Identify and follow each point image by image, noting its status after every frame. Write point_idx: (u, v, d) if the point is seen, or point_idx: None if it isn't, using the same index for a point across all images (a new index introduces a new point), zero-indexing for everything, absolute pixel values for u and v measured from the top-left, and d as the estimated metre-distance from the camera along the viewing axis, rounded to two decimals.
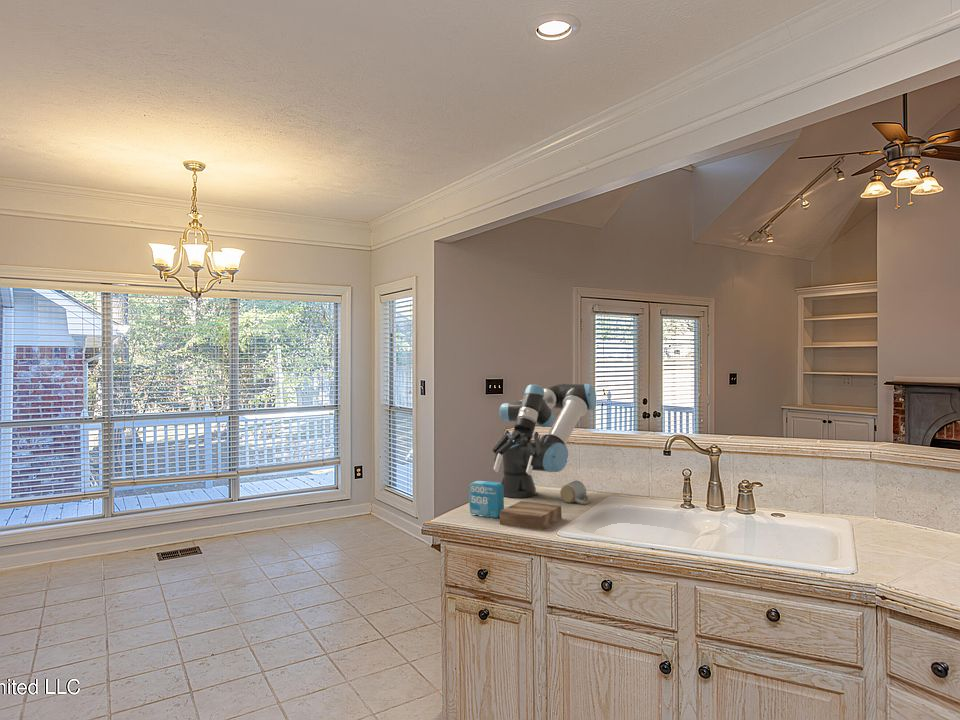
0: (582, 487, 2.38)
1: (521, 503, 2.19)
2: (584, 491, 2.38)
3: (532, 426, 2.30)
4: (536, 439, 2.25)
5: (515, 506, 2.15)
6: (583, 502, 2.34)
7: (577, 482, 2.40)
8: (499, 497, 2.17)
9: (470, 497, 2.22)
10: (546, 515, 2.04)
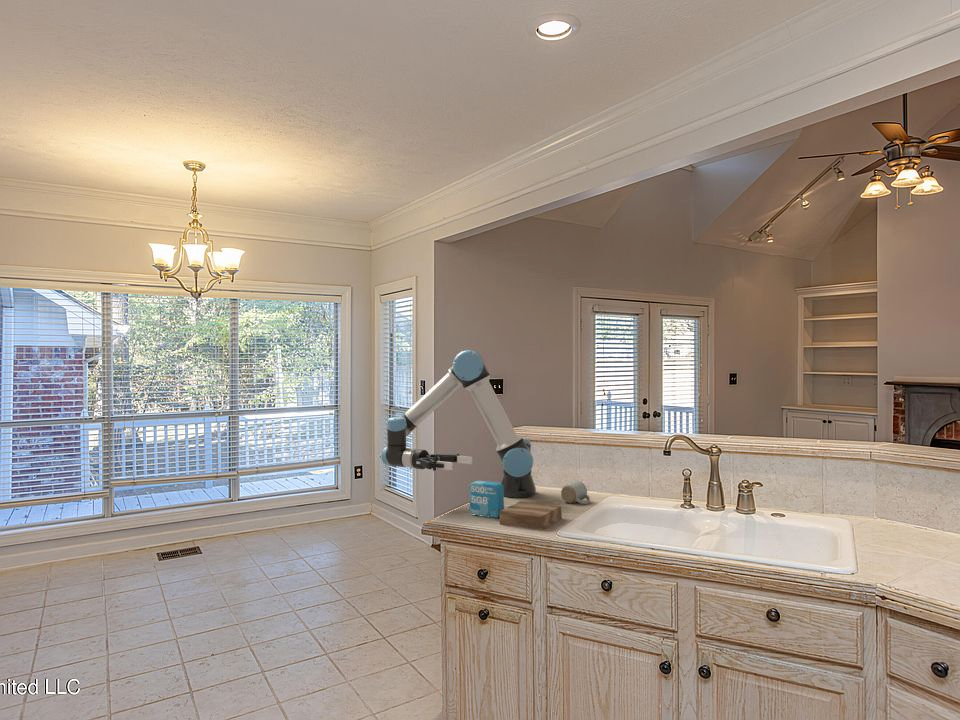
0: (583, 487, 2.38)
1: (521, 503, 2.19)
2: (585, 491, 2.38)
3: (415, 462, 2.33)
4: None
5: (515, 506, 2.15)
6: (584, 502, 2.33)
7: (578, 482, 2.39)
8: (499, 497, 2.17)
9: (470, 497, 2.22)
10: (546, 515, 2.04)
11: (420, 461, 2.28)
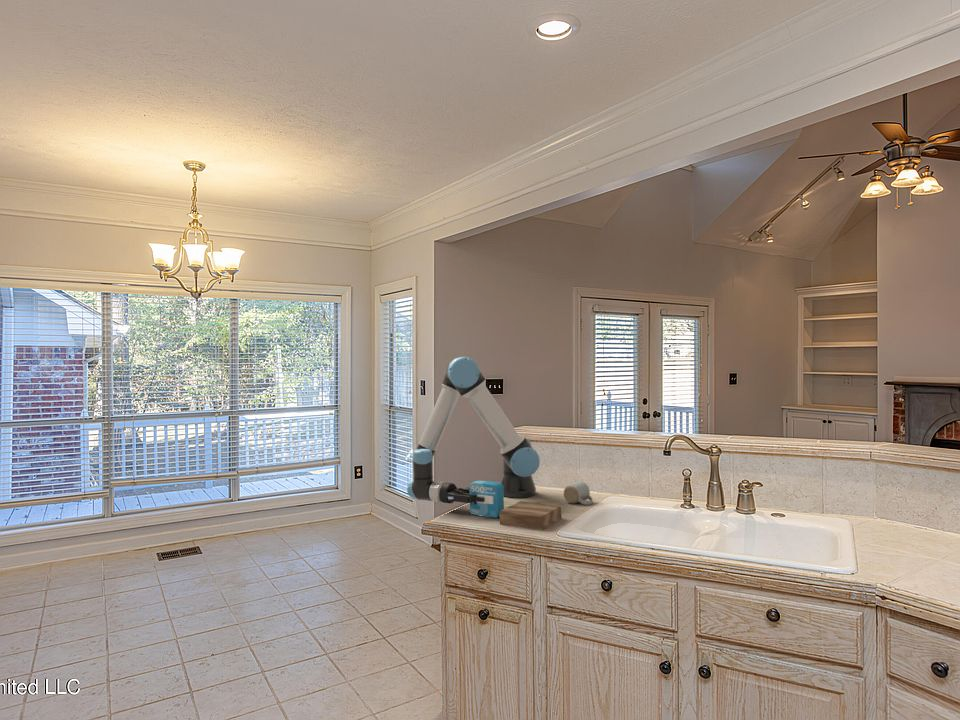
0: (585, 487, 2.37)
1: (521, 503, 2.19)
2: (587, 492, 2.37)
3: (443, 497, 2.27)
4: None
5: (515, 506, 2.15)
6: (586, 503, 2.32)
7: (580, 483, 2.39)
8: (499, 497, 2.17)
9: None
10: (546, 515, 2.04)
11: (454, 496, 2.21)
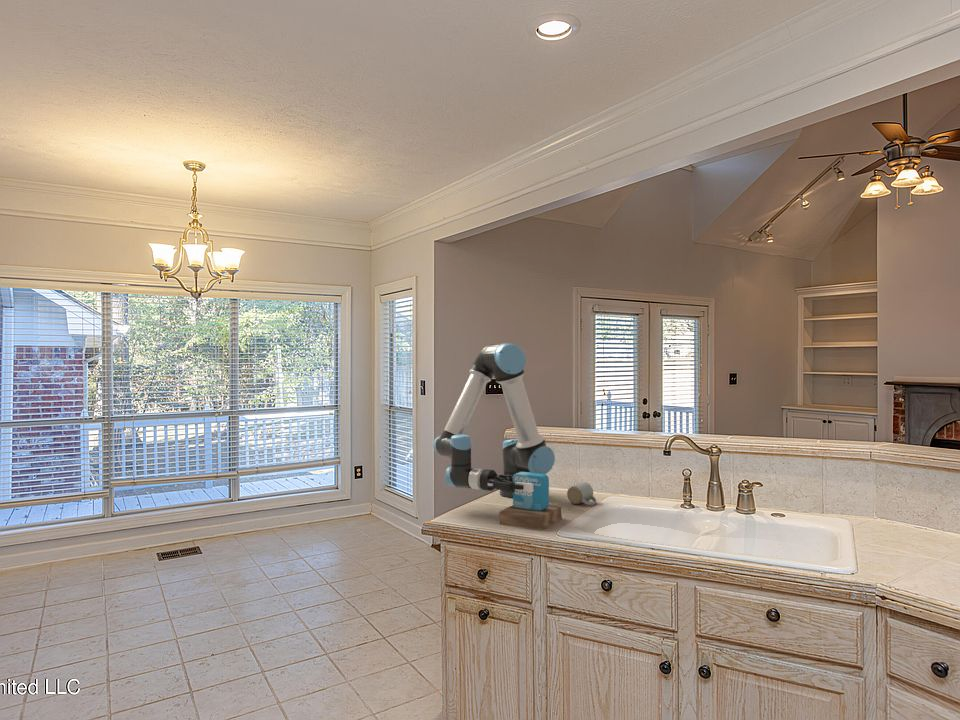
0: (589, 488, 2.36)
1: None
2: (591, 492, 2.36)
3: (484, 484, 2.18)
4: None
5: None
6: (590, 503, 2.31)
7: (584, 483, 2.37)
8: (544, 489, 2.08)
9: None
10: (546, 515, 2.04)
11: (493, 483, 2.12)
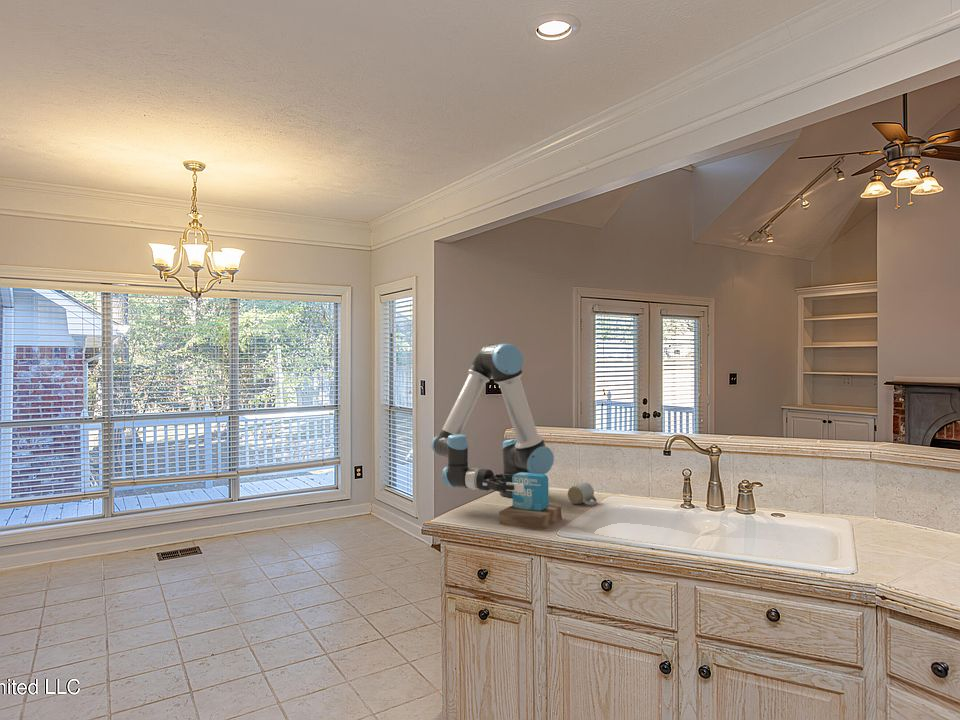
0: (589, 488, 2.36)
1: None
2: (592, 492, 2.36)
3: (480, 483, 2.18)
4: None
5: None
6: (591, 503, 2.31)
7: (585, 483, 2.37)
8: (544, 489, 2.08)
9: None
10: (546, 515, 2.04)
11: (487, 482, 2.12)
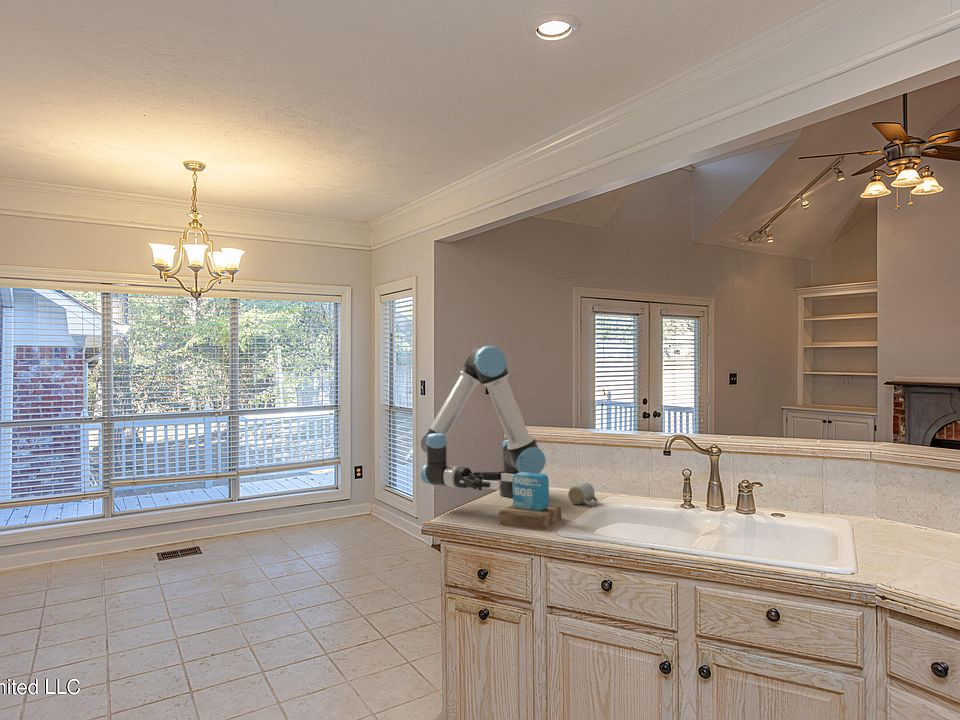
0: (590, 488, 2.35)
1: None
2: (592, 492, 2.36)
3: (458, 481, 2.23)
4: None
5: None
6: (591, 504, 2.31)
7: (585, 483, 2.37)
8: (544, 489, 2.08)
9: (513, 489, 2.13)
10: (546, 515, 2.04)
11: (464, 480, 2.17)
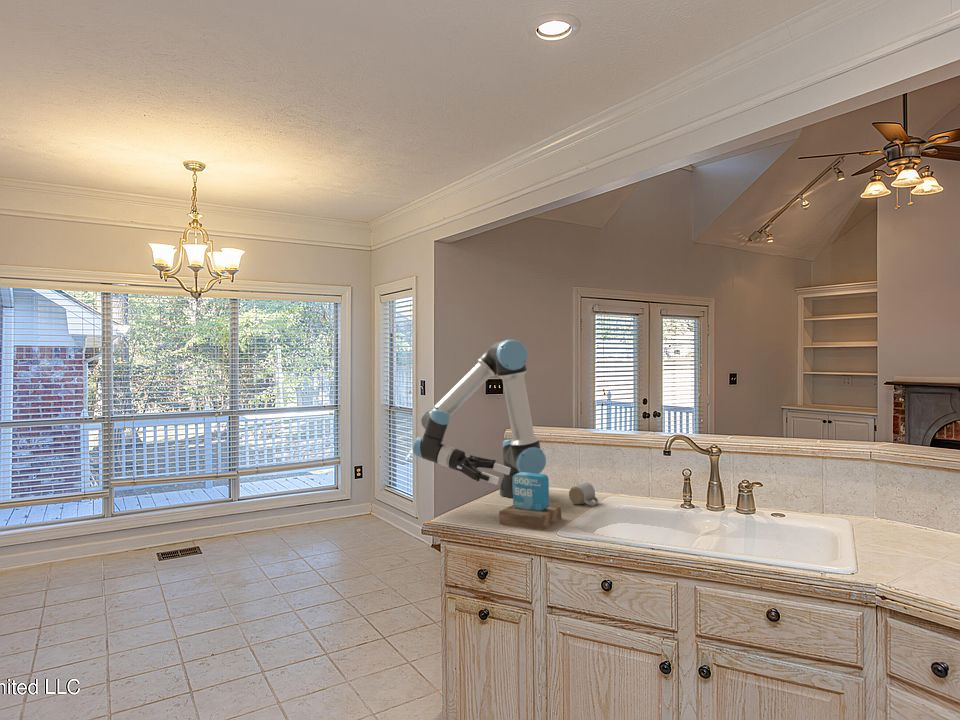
0: (591, 488, 2.35)
1: None
2: (593, 493, 2.35)
3: (453, 464, 2.24)
4: None
5: None
6: (592, 504, 2.31)
7: (586, 483, 2.37)
8: (544, 489, 2.08)
9: (513, 489, 2.13)
10: (546, 515, 2.04)
11: (462, 467, 2.19)
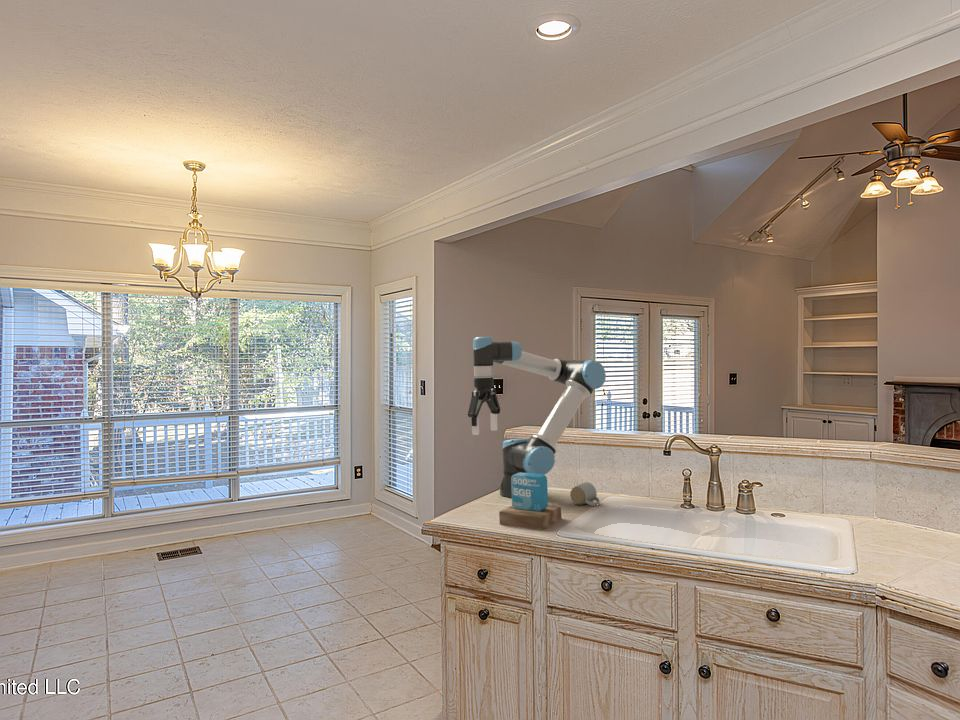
0: (592, 488, 2.35)
1: None
2: (594, 493, 2.35)
3: (477, 383, 2.30)
4: None
5: None
6: (593, 504, 2.30)
7: (587, 484, 2.36)
8: (543, 489, 2.08)
9: (512, 489, 2.13)
10: (546, 515, 2.04)
11: (475, 397, 2.26)
